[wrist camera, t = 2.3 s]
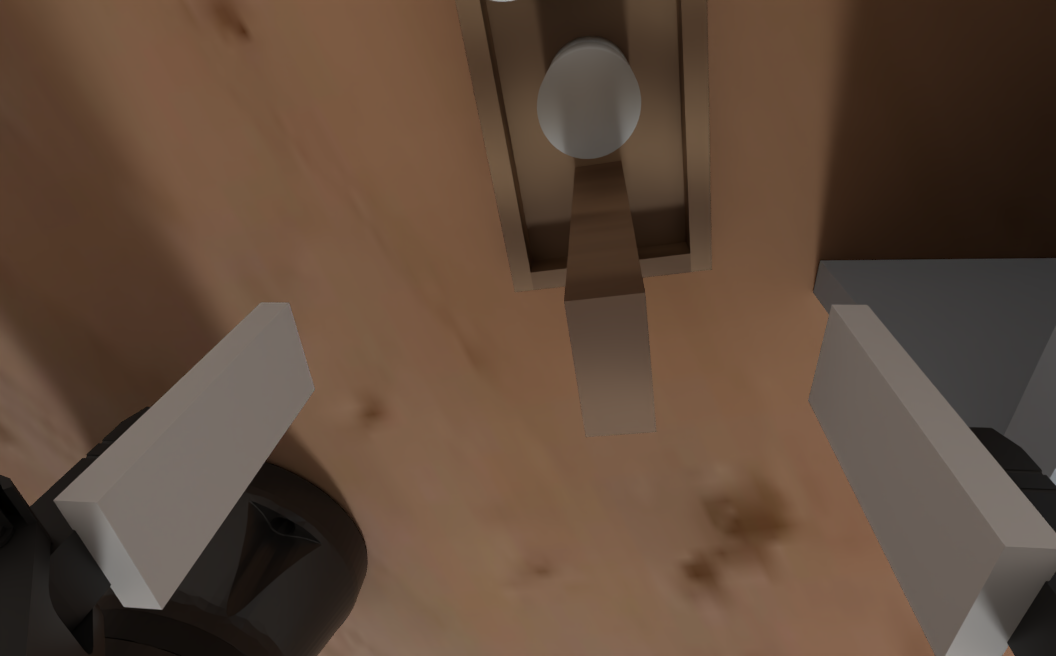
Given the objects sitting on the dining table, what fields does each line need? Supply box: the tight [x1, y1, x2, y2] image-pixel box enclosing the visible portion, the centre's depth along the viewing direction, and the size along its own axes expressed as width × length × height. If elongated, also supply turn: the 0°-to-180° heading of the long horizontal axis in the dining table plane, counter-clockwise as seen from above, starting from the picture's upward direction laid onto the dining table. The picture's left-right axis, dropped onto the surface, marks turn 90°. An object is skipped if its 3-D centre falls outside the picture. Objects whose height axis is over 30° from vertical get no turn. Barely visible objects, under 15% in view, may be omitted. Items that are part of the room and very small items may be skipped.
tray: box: [455, 0, 712, 437], centre depth 16 cm, size 16×8×12 cm, turn 10°
